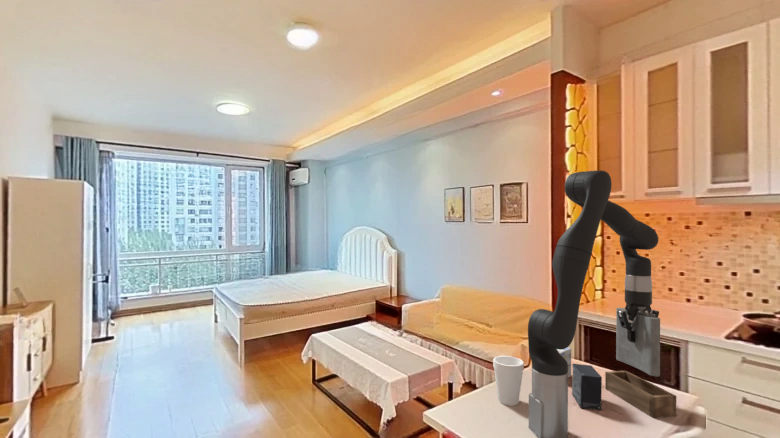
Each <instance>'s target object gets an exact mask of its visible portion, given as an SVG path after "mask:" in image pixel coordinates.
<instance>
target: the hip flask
mask: <svg viewBox="0 0 780 438" xmlns="http://www.w3.org/2000/svg"><path fill="white" fill-rule="evenodd" d="M645 308H646V307H645V306H639V307H638V309H639V311H641V315H639V321H638V324H637V325H636V328H635V343H632V342H630V341H628V339H627V329H626V328H623V327H621V324H620V320H619V317H618V314H617V311H618V310H620V311H621V310H624V309H625V307H623V308H622V307H616V310H615V311H616V315H615V316H616V318H615V319H616V321H615V322H616V323H615V324H616V327H615V328H616V329H615V333H616V336H615V338H616V339H615V341H616V343H615V346H616V347H615V348H616V349H615V352H616V353H615V354H616V355H615V358H616V361H619V362H622V363H624V364H626V365H629V366H631V367H633V368H636V369H638V370H640V371H641V372H644V373H646V374H647V375H648V376H652V377H657V378H658V377H660V376H661V318H660V317H659V316H658V317H655V316H653V315H651V314H648V313H644V309H645ZM627 315H628V314H627ZM631 320H632V319H631ZM632 321H634V320H632ZM631 325H632V324H631Z"/></svg>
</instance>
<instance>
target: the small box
mask: <svg viewBox="0 0 780 438" xmlns="http://www.w3.org/2000/svg"><path fill="white" fill-rule="evenodd" d="M571 367H572V386H571V387H572V389H571V394H572V397H573V398H574V400H575V401H576V403H577V405H578V406H579V408H581V409H587V410H588V409H590V410H596V411H598V410H599V411H601V410H602V388H603V387H602V386H603V385H602V380H603V379H602V378H603V377H602V376H601V375H600V373H599V372H598V371H597V370H596V369H595V368H594V367H593V365H591V364H580V363H571Z"/></svg>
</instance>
